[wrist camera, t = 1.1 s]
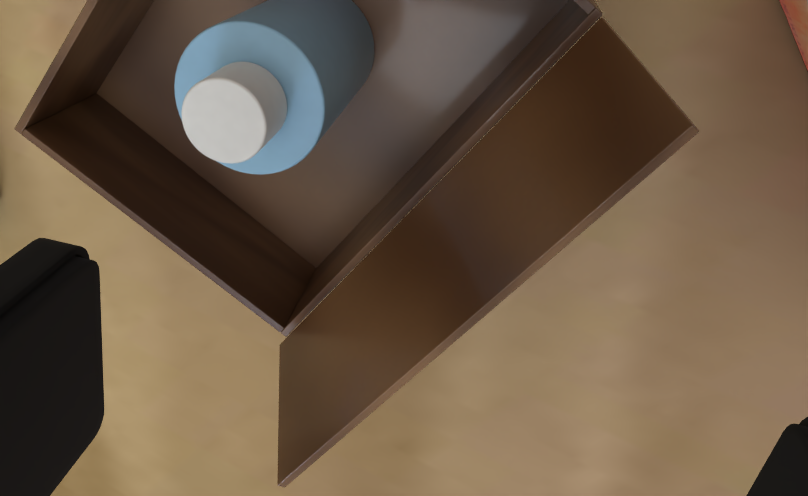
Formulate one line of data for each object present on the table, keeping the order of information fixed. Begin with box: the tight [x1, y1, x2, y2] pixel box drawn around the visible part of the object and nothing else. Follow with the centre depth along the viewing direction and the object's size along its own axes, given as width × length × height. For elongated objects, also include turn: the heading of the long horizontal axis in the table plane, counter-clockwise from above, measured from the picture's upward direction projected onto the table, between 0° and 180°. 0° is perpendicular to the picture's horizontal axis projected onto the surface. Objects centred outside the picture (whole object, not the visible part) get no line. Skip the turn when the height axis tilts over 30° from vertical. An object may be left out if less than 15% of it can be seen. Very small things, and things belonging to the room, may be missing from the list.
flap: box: [278, 18, 699, 487], centre depth 22 cm, size 16×6×1 cm
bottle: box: [174, 0, 374, 175], centre depth 23 cm, size 5×5×10 cm
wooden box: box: [15, 0, 602, 336], centre depth 26 cm, size 17×13×5 cm
